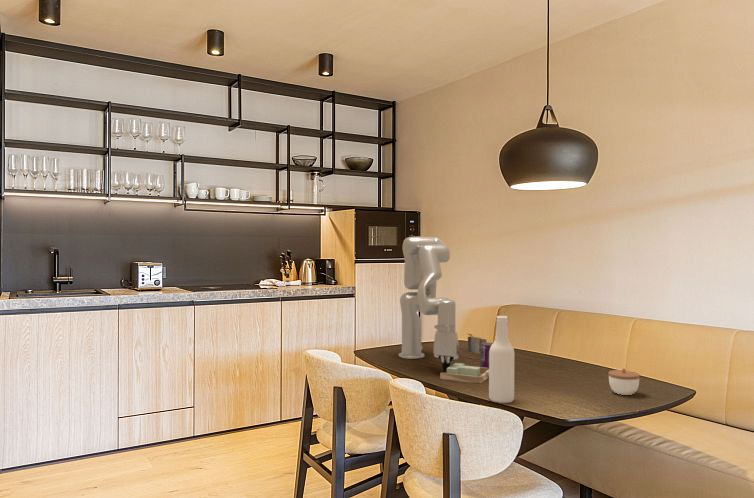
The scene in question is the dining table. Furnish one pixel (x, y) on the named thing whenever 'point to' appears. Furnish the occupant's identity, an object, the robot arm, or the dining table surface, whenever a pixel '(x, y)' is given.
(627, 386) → the lidded jar
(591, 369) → the dining table surface
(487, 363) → the beverage can
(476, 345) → the ruin model on sheet
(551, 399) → the dining table surface
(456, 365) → the tee block
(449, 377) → the oak frame
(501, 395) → the alcohol
